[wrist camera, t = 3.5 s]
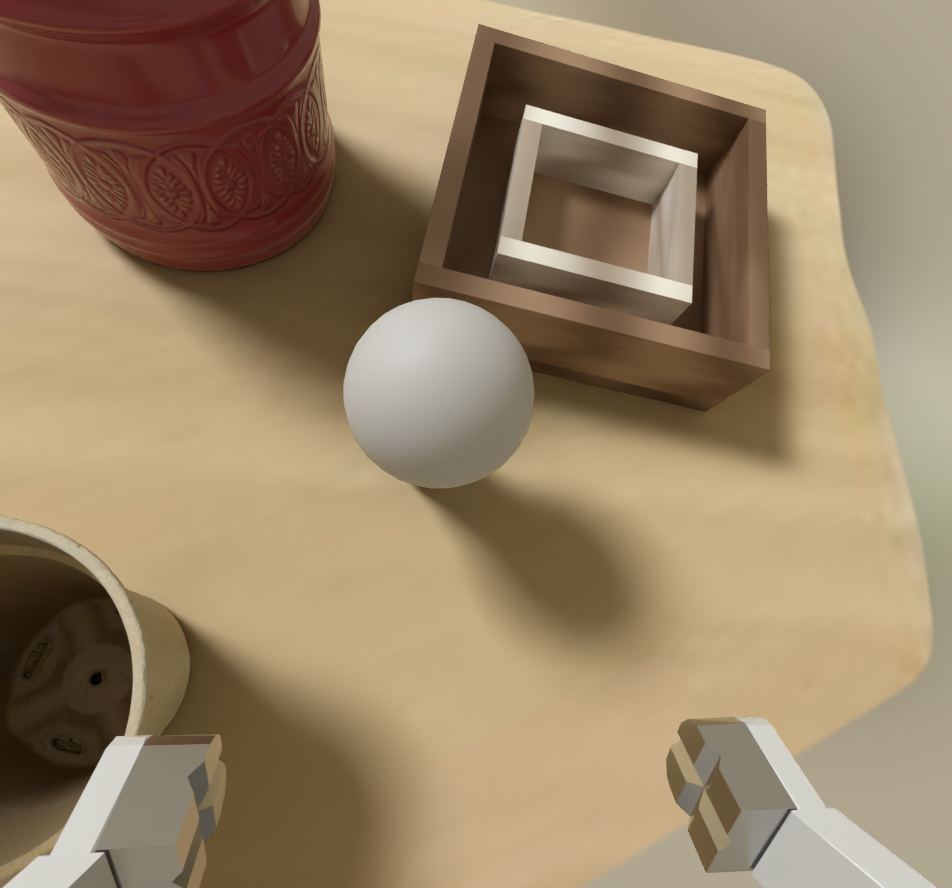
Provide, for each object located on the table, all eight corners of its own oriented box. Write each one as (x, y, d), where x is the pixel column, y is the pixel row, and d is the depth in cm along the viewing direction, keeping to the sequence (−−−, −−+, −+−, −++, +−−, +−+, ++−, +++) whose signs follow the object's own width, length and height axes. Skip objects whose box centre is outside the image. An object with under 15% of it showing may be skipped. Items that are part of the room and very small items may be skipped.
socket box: (408, 340, 27) (413, 281, 22) (464, 111, 32) (478, 23, 27) (705, 411, 28) (770, 369, 23) (712, 181, 33) (765, 110, 29)
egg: (331, 491, 24) (290, 392, 13) (393, 380, 26) (400, 222, 15) (455, 550, 24) (510, 497, 13) (507, 435, 26) (589, 313, 16)
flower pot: (237, 796, 20) (134, 919, 12) (-63, 853, 18) (-435, 1048, 10) (237, 541, 22) (153, 497, 14) (-23, 568, 21) (-287, 535, 12)
